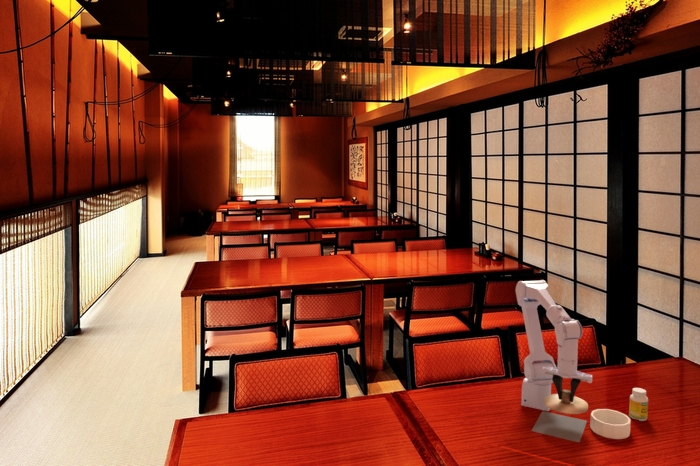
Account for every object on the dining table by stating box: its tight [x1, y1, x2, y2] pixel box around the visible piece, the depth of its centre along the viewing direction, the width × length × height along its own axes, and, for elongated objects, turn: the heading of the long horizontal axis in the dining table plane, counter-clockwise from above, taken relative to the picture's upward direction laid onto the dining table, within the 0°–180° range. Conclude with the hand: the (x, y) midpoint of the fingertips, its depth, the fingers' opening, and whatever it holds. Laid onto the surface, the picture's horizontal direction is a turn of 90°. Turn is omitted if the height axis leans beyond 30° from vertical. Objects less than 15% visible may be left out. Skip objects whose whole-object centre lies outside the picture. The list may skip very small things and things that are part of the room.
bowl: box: [589, 408, 632, 440], centre depth 163 cm, size 11×11×5 cm
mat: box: [531, 410, 588, 444], centre depth 166 cm, size 14×16×1 cm
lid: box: [544, 389, 589, 415], centre depth 165 cm, size 13×13×4 cm
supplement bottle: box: [628, 387, 649, 422], centre depth 172 cm, size 5×5×10 cm
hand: (566, 399), depth 165 cm, fingers closed on lid, 3 cm apart
